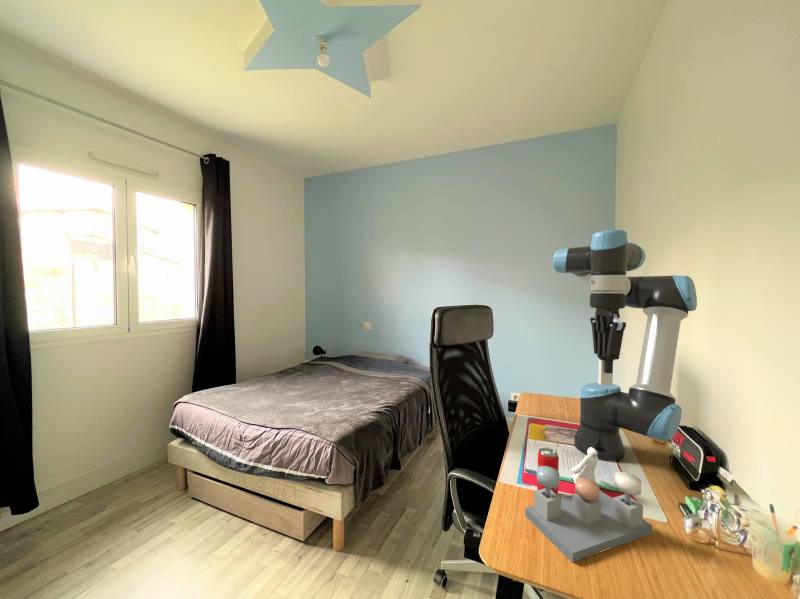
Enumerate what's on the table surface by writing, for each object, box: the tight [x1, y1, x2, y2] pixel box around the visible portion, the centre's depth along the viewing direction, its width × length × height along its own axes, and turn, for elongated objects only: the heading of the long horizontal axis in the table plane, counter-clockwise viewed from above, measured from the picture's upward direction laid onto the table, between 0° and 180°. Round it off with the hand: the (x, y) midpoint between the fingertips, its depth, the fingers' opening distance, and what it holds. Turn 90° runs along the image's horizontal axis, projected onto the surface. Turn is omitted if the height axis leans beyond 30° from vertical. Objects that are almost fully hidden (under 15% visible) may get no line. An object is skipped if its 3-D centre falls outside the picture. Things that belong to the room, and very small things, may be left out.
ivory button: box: [614, 471, 642, 506], centre depth 73 cm, size 5×5×7 cm
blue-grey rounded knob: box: [536, 466, 560, 498], centre depth 76 cm, size 5×5×7 cm
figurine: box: [570, 447, 599, 484], centre depth 90 cm, size 8×8×12 cm
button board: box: [524, 488, 653, 563], centre depth 75 cm, size 24×14×6 cm, turn 108°
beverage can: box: [536, 447, 560, 496], centre depth 85 cm, size 5×5×12 cm
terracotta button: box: [574, 477, 600, 502], centre depth 75 cm, size 5×5×7 cm
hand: (605, 384), depth 79 cm, fingers closed
